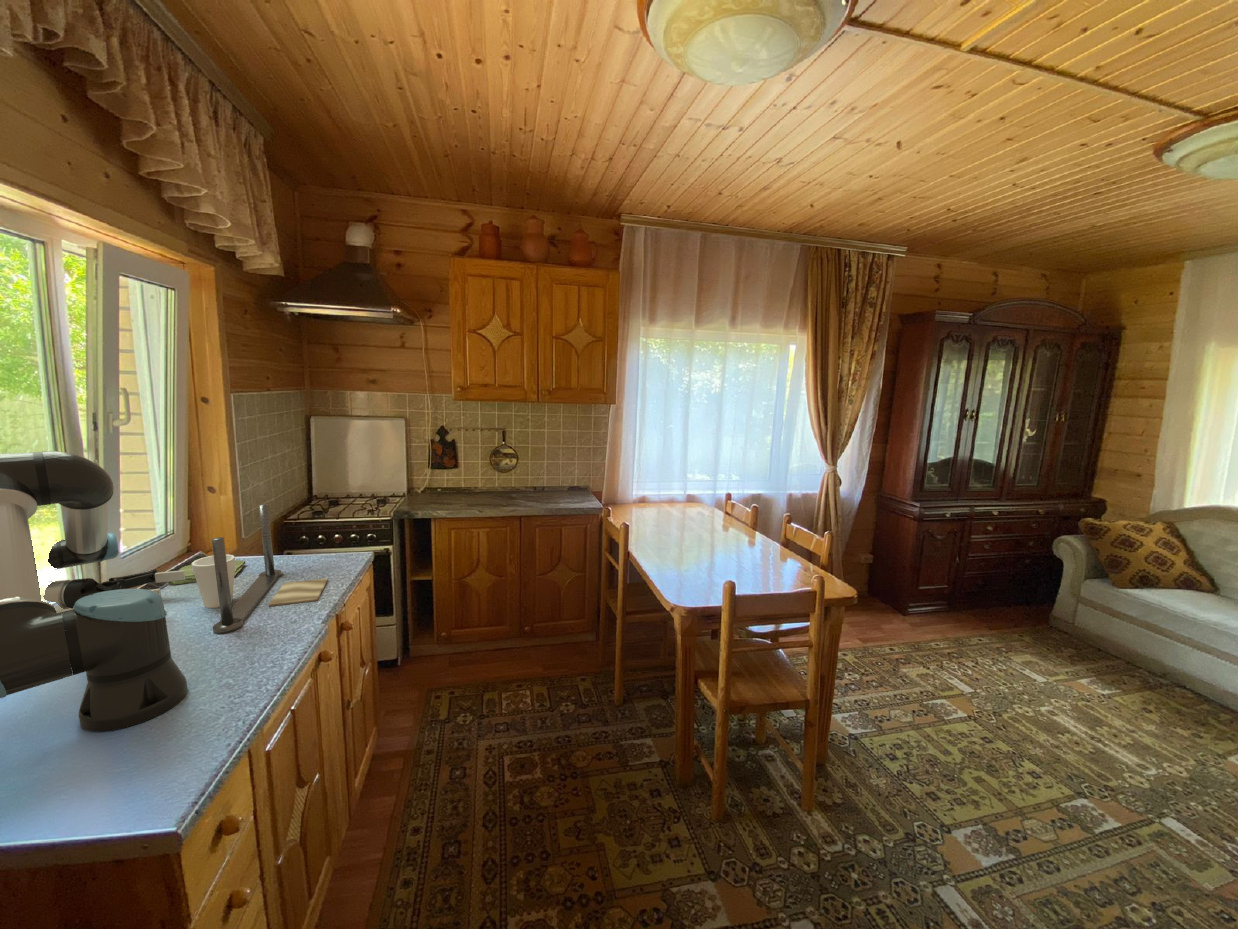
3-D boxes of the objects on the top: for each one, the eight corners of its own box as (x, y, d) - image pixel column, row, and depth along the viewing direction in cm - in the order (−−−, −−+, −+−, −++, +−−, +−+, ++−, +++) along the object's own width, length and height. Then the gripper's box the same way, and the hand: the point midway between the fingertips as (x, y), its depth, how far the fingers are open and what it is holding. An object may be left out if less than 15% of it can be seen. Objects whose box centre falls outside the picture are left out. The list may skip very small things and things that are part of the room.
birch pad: (317, 600, 143) (317, 599, 143) (268, 606, 139) (268, 604, 139) (328, 580, 158) (327, 578, 158) (284, 584, 154) (284, 583, 153)
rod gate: (237, 631, 125) (227, 541, 121) (209, 635, 123) (197, 543, 119) (283, 572, 164) (277, 502, 160) (262, 574, 161) (255, 503, 157)
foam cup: (232, 607, 138) (227, 564, 136) (191, 612, 134) (185, 567, 132) (243, 594, 146) (239, 553, 144) (205, 598, 143) (200, 556, 141)
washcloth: (237, 579, 158) (236, 570, 158) (166, 588, 151) (165, 578, 150) (247, 565, 170) (246, 556, 169) (182, 573, 162) (180, 563, 162)
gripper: (103, 588, 140) (194, 580, 148) (38, 629, 117) (150, 616, 125) (99, 564, 139) (191, 556, 147) (33, 600, 116) (146, 589, 124)
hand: (172, 584), depth 136 cm, fingers open, 13 cm apart
